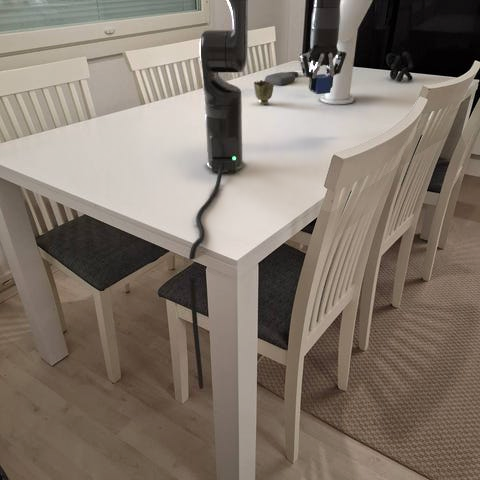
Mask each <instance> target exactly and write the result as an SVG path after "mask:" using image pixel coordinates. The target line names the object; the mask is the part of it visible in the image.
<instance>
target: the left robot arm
mask: <svg viewBox="0 0 480 480" xmlns="http://www.w3.org/2000/svg"><path fill="white" fill-rule="evenodd" d="M225 2H226V4H227V7H228V9H229V12H230V15H231V20H232V29H207V30H204V31H203V32H202V33H201V35H200V38H199V46H198V47H199V49H198V50H199V62H200V68H201V77H202V78H201V79H202V91H203V98H204V100H203V101H204V116H205V117H204V118H205V133H206V134H205V135H206V153H207V168H208V169H209V170H211V172H212V173H217V177H216V182H215V185H214V188H213V190H212V192H211V194H210V195H209V197H208V199H206V202H205V203H204V204H203V205H202V206H201V207H200V208H199V210H198V212H197V214H196V217H195V221H196V225H197V228H198V230H199V236H198V238H197V239H196V240H195V241H194V242H193V244H192V246H191V247H190V251H189V258H188V259H189V260H190V261H191V260H194V259H195V257H196V252H197V249H198V247H199V246H200V245H201V244H202V243H203V241H204V240H205V237H206V233H205V228H204V226H203V223H202V216H203V213H204V212H205V211H206V210H207V208H208V207H209V206H210V205H211V203H212V202H213V200H214V199H215V197H216V195H217V193H218V191H219V189H220V185H221V181H222V176H223V173H237V171H239V170H240V169H242V168H243V166H244V160H243V114H242V113H243V109H242V108H243V106H242V105H243V104H242V103H243V102H242V101H243V100H242V99H243V98H242V96H243V95H242V90H241V89H240V87H239V86H237V85H234V84H232V83H229V82H228V81H225V80H224V79H223V78H222V77H221V76H220V74H241V73H243V72H244V71H245V69H246V66H247V61H248V9H249V8H248V7H249V6H248V5H249V3H248V2H249V0H225ZM340 3H341V0H313V5H312V6H313V8H312V13H311V21H310V23H311V25H310V41H309V44H310V47H309V50H308V52H306V53H300V54H299V56H298V57H299V58H298V59H299V62H300V67H301V71H302V72H303V75H302V76H305V77H307V78H308V90H309V91H310V92H311V91H312V92H311V93H313V92H315V89H316V79H315V78H316V75H318V73H319V71H320V69H321V67H322V66H324V68H325V72H326V75H328V76H330V77H332V80H331V88H332V86H333V77H334V75H336V74H339V73H340V71H341V68H342V66H343V63H344V60H345V57H346V52H343V51H338V49H337V43H338V35H339V25H340ZM335 56H336V61H335V64H334V63H333V59H334V58H335ZM310 60H311V62H310ZM309 62H310V65H309ZM219 73H220V74H219ZM189 286H190V287H189V288H190V289H189V290H190V305H191V306H190V308H191V319H192V320H191V321H192V331H193V340H194V341H193V343H194V351H195V360H196V371H197V380H198V389H199V390H203V389H204V377H203V368H202V367H203V366H202V357H201V356H202V355H201V347H200V337H199V336H200V335H199V325H198V323H199V322H198V311H197V310H198V309H197V292H196V291H197V290H196V278H190V279H189Z"/></svg>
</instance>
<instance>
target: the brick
mask: <svg viewBox="0 0 480 480" xmlns="http://www.w3.org/2000/svg"><path fill="white" fill-rule="evenodd" d="M315 79H316V89H315V92H312V91H310V92H311V93H313V94H315V95H325V93H330V91H331V80H332V77H330V76H328V75H327V74H325V73H317V75H316V78H315Z"/></svg>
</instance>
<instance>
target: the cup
mask: <svg viewBox="0 0 480 480" xmlns="http://www.w3.org/2000/svg"><path fill="white" fill-rule="evenodd" d="M274 86H275V85H274V83H273V81H272V82H271V81H269V83H268V82H267V83H266V80H265V79H264V80H257V81H254V82H253V87H254V94H255V98H256V99H257V100H258V104H259V105H262V106H264V105H268V104H269V102H270V101H269V100H270V99H272V97H273V93H274Z"/></svg>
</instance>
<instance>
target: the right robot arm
mask: <svg viewBox="0 0 480 480" xmlns="http://www.w3.org/2000/svg"><path fill="white" fill-rule="evenodd" d="M373 1H374V0H341V3H340V25H339V35H338V43H337V49H338V51H343V52H346V57H345V60H344V63H343V66H342V68H341V71H340V73H339V74H336V75H334V77H333V86H332V88H331V91H330V93H325V94H321V96H320V101H321V102H322V103H326V104H330V105H347V104H351V103H353V102H354V99H355V98H354V96H353V95H351V88H352V82H353V81H352V80H353V70H354V62H355V53H356V46H357V39H358V31H359V27H360V26H361V23H362V22H363V20H364V18H365V16H366V14H367V12H368V10H369V8H370V7H371V5H372V3H373ZM335 61H336V56H335V58H334V59H333V63H334V64H335Z"/></svg>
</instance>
